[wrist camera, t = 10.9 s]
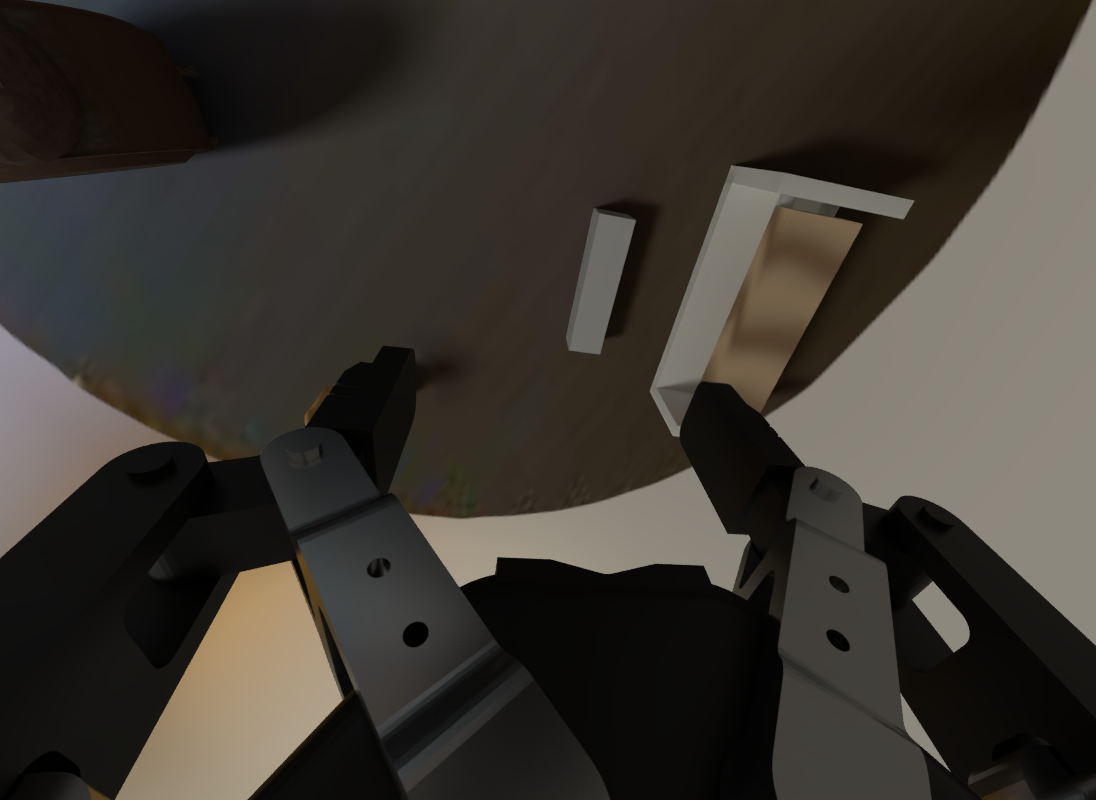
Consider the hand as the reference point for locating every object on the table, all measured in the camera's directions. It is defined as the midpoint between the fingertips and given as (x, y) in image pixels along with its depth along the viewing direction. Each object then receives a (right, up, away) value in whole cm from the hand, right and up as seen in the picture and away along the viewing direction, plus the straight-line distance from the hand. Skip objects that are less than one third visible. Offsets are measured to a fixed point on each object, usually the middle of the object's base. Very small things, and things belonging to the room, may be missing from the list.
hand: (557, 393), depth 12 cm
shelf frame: (+18, +9, +29) cm, 35 cm away
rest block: (+4, +11, +26) cm, 29 cm away
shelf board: (+18, +7, +24) cm, 31 cm away
